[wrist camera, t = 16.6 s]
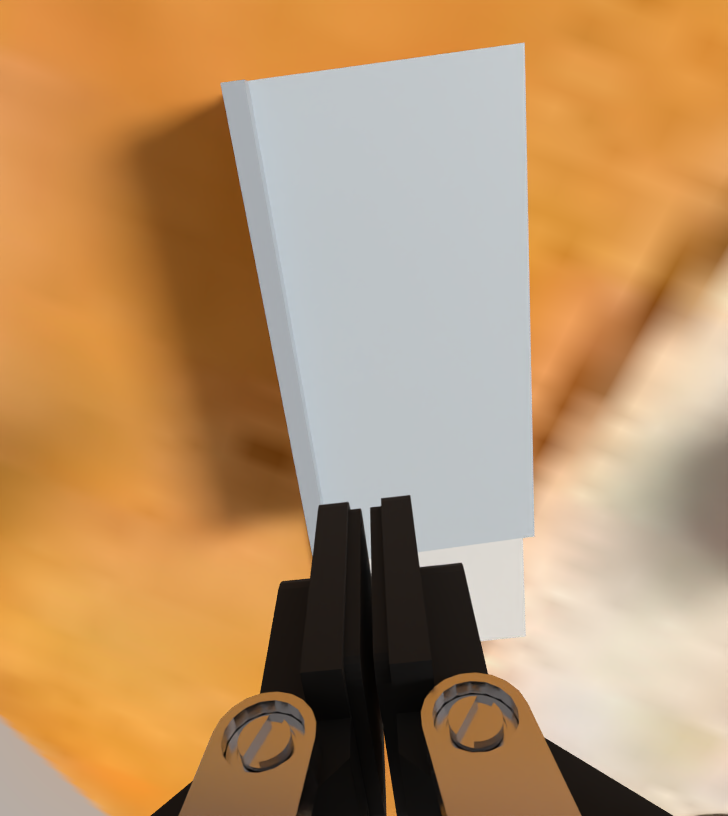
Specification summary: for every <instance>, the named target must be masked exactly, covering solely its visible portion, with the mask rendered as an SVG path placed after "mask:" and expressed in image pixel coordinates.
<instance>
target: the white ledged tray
mask: <svg viewBox="0 0 728 816" xmlns="http://www.w3.org/2000/svg"><path fill="white" fill-rule="evenodd" d="M418 558H419V566H420V567H425V566H434V565H444V564H453V563H462V564H463V567H464V571H465V575H466V580H467V584H468V589H469V593H470V597H471V602H472V606H473V611H474V615H475V619H476V624H477V628H478V633H479V637H480V641H486V640H496V639H505V638H515V637H524V636H526V632H525V598H524V564H523V538H518V539H511V540H504V541H496V542H489V543H482V544H474V545H467V546H460V547H453V548H445V549H438V550H431V551H423V552H418ZM369 563H370V570H371V559H369Z"/></svg>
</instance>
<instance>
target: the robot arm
mask: <svg viewBox="0 0 728 816" xmlns="http://www.w3.org/2000/svg"><path fill="white" fill-rule="evenodd" d="M370 531H371V570H370V563H369V556H368V550H367V543H366V536H365V529H364V523H363V516H362V511H361V508H359V509H350V505H349V502H341V503H332V504H323V505H319V506H318V513H317V522H316V531H315V540H314V549H313V558H312V567H311V576H310V579H300V580H290V581H282V582H281V583H280V586H279V589H278V595H277V601H276V606H275V612H274V618H273V623H272V629H271V635H270V640H269V646H268V652H267V657H266V663H265V669H264V674H263V680H262V686H261V691H260V694H258V695H255V696H252V697H250V698H247V699H245V700H243V701H242V702H240V703H239V704H237V705H235V706H234V707H232V708H231V709H230V710H229V711H228V712H227V713H226V714H225V715H224V716H223V717H222V718H221V719H220V721H219V723H218V724H217V726H216V728H215V730H214V731H213V733H212V736H211V738H210V740H209V743H208V745H207V748H206V750H205V753H204V755H203V758H202V760H201V762H200V765H199V767H198V770H197V772H196V775H195V777H194V780H193V781H192V782H191V783H190V784H188V785H187V786H186V787H185V788H184V789H182V790H181V791H180V792H179V793H178V794H176V795H175V796H174V797H173V798H172V799H170V800H169V801H168V802H167V803H166V804H164V805H163V806H162V807H161V808H159V809H158V810H157V811H156V812H155V813H153V814H152V815H151V816H386V787H385V759H384V736H385V743H386V749H387V756H388V762H389V768H390V775H391V781H392V787H393V794H394V800H395V806H396V813H397V816H673V815H671V814H669V813H668V812H666V811H664V810H663V809H661V808H659V807H658V806H656V805H655V804H653V803H651V802H650V801H648V800H646V799H645V798H643V797H641V796H640V795H638V794H636V793H635V792H633V791H632V790H630V789H628V788H627V787H625V786H623V785H622V784H620V783H618V782H617V781H615V780H613V779H612V778H610V777H608V776H607V775H605V774H604V773H602V772H600V771H599V770H597V769H595V768H594V767H592V766H590V765H589V764H587V763H585V762H584V761H582V760H580V759H579V758H577V757H576V756H574V755H572V754H571V753H569V752H567V751H566V750H564V749H562V748H561V747H559V746H557V745H556V744H554V743H553V742H551V741H549V740H548V739H546V738H544V736H543V734H542V732H541V730H540V728H539V726H538V724H537V722H536V720H535V718H534V715H533V713H532V711H531V709H530V707H529V705H528V703H527V702H526V700H525V699H524V697H523V696H522V694H521V693H520V692H519V690H517V689H516V688H515V687H513V686H512V685H511V684H510V683H508V682H507V681H505V680H503V679H500V678H498V677H495V676H493V675H489V674H488V672H487V668H486V664H485V659H484V655H483V650H482V646H481V642H480V637H479V633H478V628H477V624H476V619H475V615H474V611H473V606H472V602H471V597H470V593H469V589H468V584H467V580H466V575H465V571H464V567H463V564H462V563H453V564H444V565H434V566H425V567H420V566H419V558H418V550H417V542H416V535H415V527H414V519H413V511H412V504H411V496H410V495H405V496H396V497H387V498H381V506H378V507H370ZM383 730H384V731H383Z"/></svg>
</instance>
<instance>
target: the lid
mask: <svg viewBox="0 0 728 816" xmlns="http://www.w3.org/2000/svg"><path fill="white" fill-rule="evenodd" d="M221 88H222V93H223V99H224V104H225V109H226V114H227V119H228V124H229V129H230V135H231V140H232V145H233V150H234V155H235V160H236V165H237V171H238V176H239V181H240V186H241V191H242V196H243V201H244V207H245V212H246V217H247V222H248V227H249V232H250V237H251V243H252V248H253V253H254V258H255V263H256V268H257V273H258V279H259V284H260V289H261V294H262V299H263V304H264V309H265V315H266V320H267V325H268V330H269V335H270V340H271V345H272V351H273V356H274V361H275V366H276V371H277V376H278V381H279V387H280V392H281V397H282V402H283V407H284V412H285V417H286V423H287V428H288V433H289V438H290V443H291V448H292V453H293V459H294V464H295V469H296V474H297V479H298V484H299V489H300V495H301V500H302V505H303V510H304V515H305V520H306V525H307V531H308V536H309V541H310V546H311V551H312V556H313V549H314V540H315V531H316V522H317V513H318V506H319V505H323V504H332V503H341V502H349V505H350V509H359V508H361V511H362V516H363V523H364V529H365V536H366V543H367V550H368V556H369V559H371V531H370V507H378V506H381V498H387V497H396V496H405V495H410V496H411V504H412V511H413V519H414V527H415V535H416V542H417V550H418V552H423V551H431V550H438V549H445V548H453V547H460V546H467V545H474V544H482V543H489V542H496V541H504V540H511V539H518V538H525V537H533V536H534V493H533V443H532V393H531V343H530V294H529V244H528V194H527V144H526V94H525V45H524V43H519V44H512V45H505V46H497V47H490V48H483V49H476V50H468V51H461V52H454V53H447V54H439V55H432V56H425V57H418V58H411V59H403V60H396V61H389V62H382V63H374V64H367V65H360V66H353V67H345V68H338V69H331V70H324V71H316V72H309V73H302V74H295V75H287V76H280V77H273V78H266V79H258V80H251V81H247V80H238V81H231V82H224V83H221Z"/></svg>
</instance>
